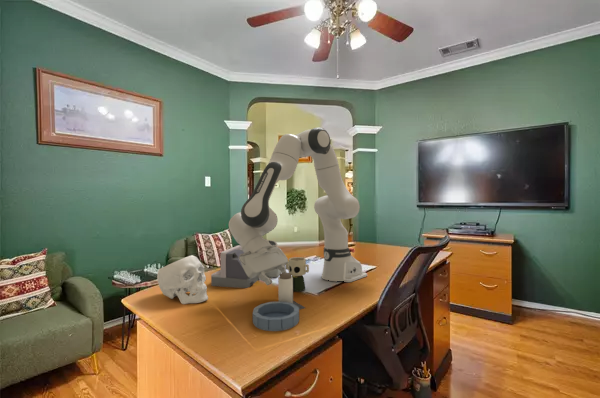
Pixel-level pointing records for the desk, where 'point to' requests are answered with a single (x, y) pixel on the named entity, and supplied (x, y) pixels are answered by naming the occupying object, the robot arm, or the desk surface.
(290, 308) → the bowl
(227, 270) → the instant camera
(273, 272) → the supplement box
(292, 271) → the character mug
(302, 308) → the mat
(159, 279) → the skull planter
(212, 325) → the desk surface
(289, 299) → the salt mill
